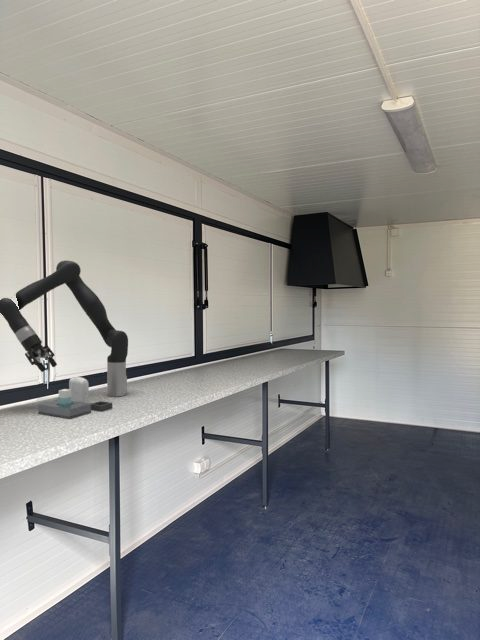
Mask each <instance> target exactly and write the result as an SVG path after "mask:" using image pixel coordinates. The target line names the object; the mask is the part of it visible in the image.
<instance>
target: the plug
mask: <svg viewBox="0 0 480 640" xmlns="http://www.w3.org/2000/svg"><path fill="white" fill-rule="evenodd" d="M58 400H59V405H62V406H67V405H70V404H71V390H69V388H63V389H58Z"/></svg>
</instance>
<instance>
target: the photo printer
mask: <svg viewBox="0 0 480 640" xmlns="http://www.w3.org/2000/svg"><path fill="white" fill-rule="evenodd" d="M89 385H90V384H89V380H88V379H86V378H85V377H81V376H73V377H71V378H70V379H69V381H68V389H69V390H71V401H77V402H84V403H89V387H90V386H89Z"/></svg>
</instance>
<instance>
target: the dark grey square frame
mask: <svg viewBox="0 0 480 640" xmlns="http://www.w3.org/2000/svg"><path fill="white" fill-rule="evenodd" d="M112 409H113V402H109V401H102V400H100V401H95V402H91V411H94V412H95V411H96V412H105V411H108V410H112Z"/></svg>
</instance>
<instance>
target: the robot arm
mask: <svg viewBox="0 0 480 640" xmlns="http://www.w3.org/2000/svg"><path fill="white" fill-rule="evenodd" d="M55 269H56V271H54V272H53V273H51V274H50V275H47V276H46V277H44V278H41V279H39V280H36V281H35V282H31V283H30V284H28V285H26V286H25V287H23V288H21V289H19V290H17V292H16V293H15V295H16V298H17V301H18V306H19V309H18V307H17V306H16V304H15V303H14V302H13V301H12V300H11V299H10V298H9V297H2V298H0V299H1V300H0V313H1V314H2V315H3V316H2V315H1V314H0V315H1V316H2V317H3V318H4V319H5V320H6V322H7V324H8V326H9V328H10V329H11V331H12V332H13V334H14V335H15V337H16V339H17V340H18V342H19V344H20V345H21V346H22V348H23V349H24V350H25V351H26V352H25V353H24V355H25V356H26V358H27V360H28V362H29V363H30V365H31V366H33V365H34V366H36V367H37V368H38V370H39V371H40V372H41V373H43V372H45V371H46V370H47V368H46V366H45V365H44V364H43V363H42V362H41V359H44V360H45V359H46V360H47V361H48V363H49V365H50V366H51V367H52V368H56V366H57V365H58V363H57V362H56V361H55V359H54V356H55V353H54V352H53V351H52V349H51V348H50V347H49V345H48V344H45V345H42V343H43V341H42V340H41V338H40V336H39V335H38V334H37V333H36V331H35V329H33V327H32V326H31V325H30V324H29V322H28V321H27V319H26V318H25V317H24V316H23V314H22V313H21V310H22V309H24V307H26V306H27V305H29V304H31V303H33V302H34V301H36V300H37V299H39V298H41V297H43V296H44V295H46V294H47V293H49V292H50V291H51V292H52V291H53V290H54V289H57V288H58V287H60V286H62V285H64V284H65V285H66V286H67V287H68V289H69V290H70V292H71V294H72V295H73V296H74V298H75V299H76V301H77V302H78V304H79V305H80V307H81V308H82V310H83V311H84V313H85V315H87V317H88V318H89V320H90V321H91V322H92V323H93V325H94V326H95V328H96V329H97V331H98V333H99V334H100V336H101V338H102V340H103V342H104V343H105V345H106V346H107V347H108V348H111V349H110V350H111V351H110V354H109V355H108V356H107V359H106V361H107V362H106V365H107V369H106V370H107V371H106V373H107V374H106V377H107V378H106V379H107V380H106V383H107V384H106V387H107V388H106V393H107V394H106V395H107V397H112V398H113V397H114V398H116V397H124V396H126V395H127V394H128V376H127V357H128V355H129V354H128V352H129V349H128V348H129V338H128V337H129V336H128V335H127V333H126V332H125V331H122V330H117V329H116V328H115V327H114V326H113V325H112V323H111V322H110V320H109V319H108V315H107V309H106V308H105V305H104V304H103V302H102V301H101V299H100V298H99V297H98V295H97V294H96V293H95V292H94V291H93V290H92V288H90V287H89V286H88V285H87V284H86V283H85V282H84V281H83V279H82V278H81V276H80V275H81V267H80V265H79V264H78V263H77V262H75V261H73V260H60V261H59V262H58V263H57V264H56V268H55ZM19 310H20V311H19Z"/></svg>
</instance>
